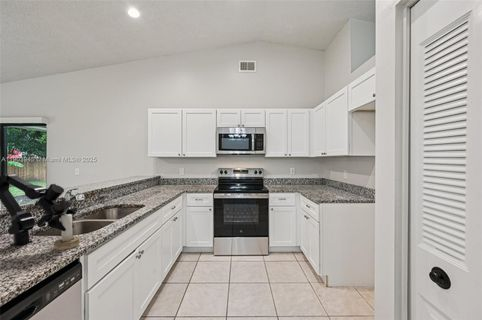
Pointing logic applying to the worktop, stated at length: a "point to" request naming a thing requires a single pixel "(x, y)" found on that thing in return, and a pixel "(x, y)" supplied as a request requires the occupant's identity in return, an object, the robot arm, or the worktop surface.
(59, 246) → the tan open ring
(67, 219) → the dowel
